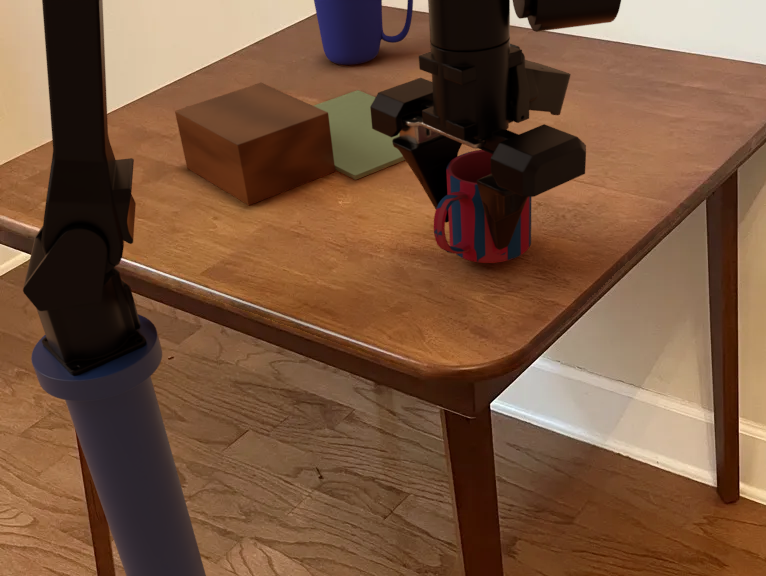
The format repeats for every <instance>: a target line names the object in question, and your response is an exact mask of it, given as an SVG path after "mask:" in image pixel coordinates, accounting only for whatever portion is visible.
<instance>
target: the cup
mask: <svg viewBox="0 0 766 576" xmlns="http://www.w3.org/2000/svg"><path fill="white" fill-rule="evenodd" d="M492 155H493V154H491V153H488V152H486V151H483V150H481V149H475V150H472V151H468V152H465V153H461V154H460V155H459V154H458V156H457V157H456V158H454V159H453V160H451V161H450V162H449V163H448V165H447V169H446V172H447V194H448V195H446V196H445V197H443V198H442V199H441V201H440V202H439V204H438V206H437V208H436V209H435V212H434V217H433V235H434V239H435V242H436V245H437V246H438V247H439V248H440V249H441V250H443V251H445V252H446V253H449V254H453V255H456V256H458V257H460V258H461V259H464V260H466V261H469V262H475V263H482V264H495V263H496V264H497V263H503V262H507V261H511V260H513V259H516V258H519V257H520V256H523V254H525V253H526V252H527V251H528V250H529V248H530V247H531V245H532V197H528V199H527V201H526V203H525V205H524V208H523V210H522V213H521V215H520V218H519V220H518V223H517V225H516V228H515V231H514V233H513V236H512V238H511V241H510V243H509V245H508V246H507V247H505V248H503V249H501V250H498V249H496V247H495V245H494V242H493V239H492V237H491V233H490V230H489V226H488V222H487V218H486V215H485V211H484V207H483V203H482V200H481V196H480V192H479V189H478V185H477V180H478V179H480V178H483V177H485V176H487V175H490V174H491V162H490V158H491V157H492ZM447 211H448V216H449V222H448V233H449V234H448V235H449V236H448V237H449V242H448V240H447V236H446V222H445V219H446V215H447Z"/></svg>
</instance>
